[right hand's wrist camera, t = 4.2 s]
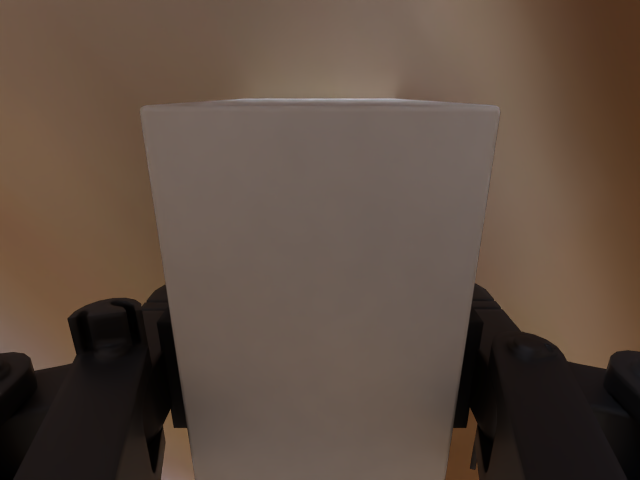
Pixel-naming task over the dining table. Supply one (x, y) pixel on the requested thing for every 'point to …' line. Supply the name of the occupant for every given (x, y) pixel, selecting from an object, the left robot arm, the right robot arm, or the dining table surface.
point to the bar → (320, 278)
